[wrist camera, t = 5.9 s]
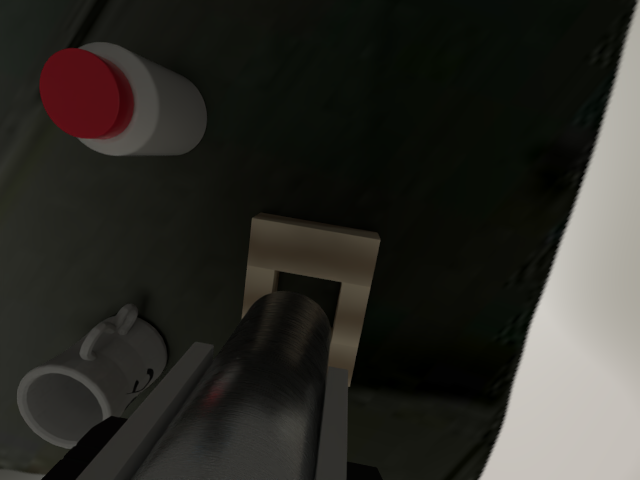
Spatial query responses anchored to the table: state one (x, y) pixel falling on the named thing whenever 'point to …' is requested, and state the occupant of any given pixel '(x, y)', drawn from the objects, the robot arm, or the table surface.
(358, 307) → the jig
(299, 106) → the table surface
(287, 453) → the grey cylindrical peg
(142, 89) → the pill bottle
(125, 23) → the table surface
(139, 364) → the mug
